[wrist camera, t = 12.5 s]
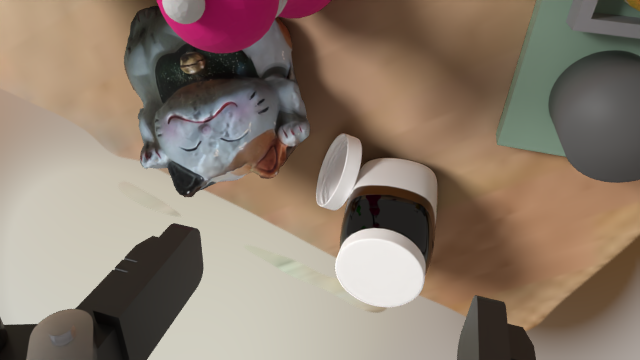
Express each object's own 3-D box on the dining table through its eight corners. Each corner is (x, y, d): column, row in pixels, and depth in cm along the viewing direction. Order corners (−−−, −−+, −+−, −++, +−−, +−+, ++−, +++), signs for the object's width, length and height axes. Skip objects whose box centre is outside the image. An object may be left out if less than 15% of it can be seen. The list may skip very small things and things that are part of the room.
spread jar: (432, 240, 46) (423, 330, 36) (323, 223, 48) (288, 303, 39) (448, 132, 39) (442, 206, 30) (322, 119, 42) (280, 183, 32)
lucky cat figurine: (294, -26, 36) (301, 97, 28) (310, 87, 46) (318, 203, 38) (109, -4, 37) (62, 123, 28) (163, 103, 46) (140, 221, 38)
